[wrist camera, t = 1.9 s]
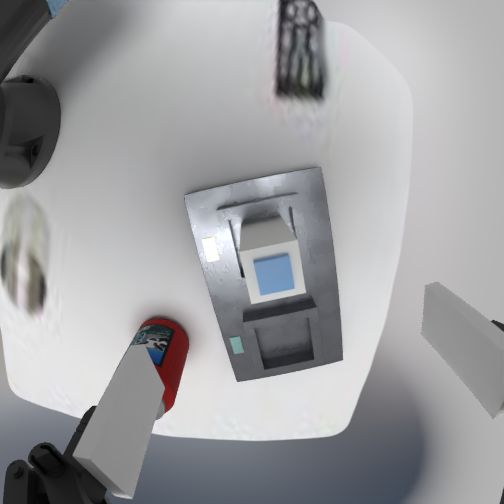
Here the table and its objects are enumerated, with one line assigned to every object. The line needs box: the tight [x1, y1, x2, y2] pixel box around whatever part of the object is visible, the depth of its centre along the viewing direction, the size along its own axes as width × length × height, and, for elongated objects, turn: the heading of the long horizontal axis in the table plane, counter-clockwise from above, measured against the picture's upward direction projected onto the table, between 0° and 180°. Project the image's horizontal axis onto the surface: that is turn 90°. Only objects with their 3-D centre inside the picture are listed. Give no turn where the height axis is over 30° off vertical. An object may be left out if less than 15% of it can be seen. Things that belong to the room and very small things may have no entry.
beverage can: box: [114, 319, 189, 420], centre depth 29 cm, size 7×7×12 cm
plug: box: [239, 215, 306, 304], centre depth 25 cm, size 4×4×11 cm
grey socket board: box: [184, 167, 343, 382], centre depth 31 cm, size 24×14×4 cm, turn 12°
